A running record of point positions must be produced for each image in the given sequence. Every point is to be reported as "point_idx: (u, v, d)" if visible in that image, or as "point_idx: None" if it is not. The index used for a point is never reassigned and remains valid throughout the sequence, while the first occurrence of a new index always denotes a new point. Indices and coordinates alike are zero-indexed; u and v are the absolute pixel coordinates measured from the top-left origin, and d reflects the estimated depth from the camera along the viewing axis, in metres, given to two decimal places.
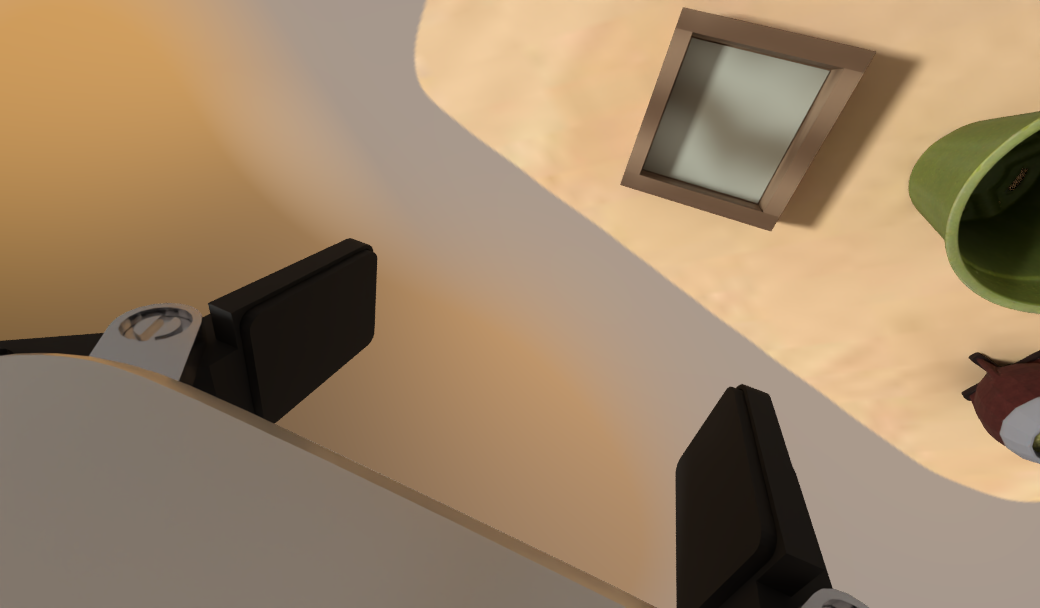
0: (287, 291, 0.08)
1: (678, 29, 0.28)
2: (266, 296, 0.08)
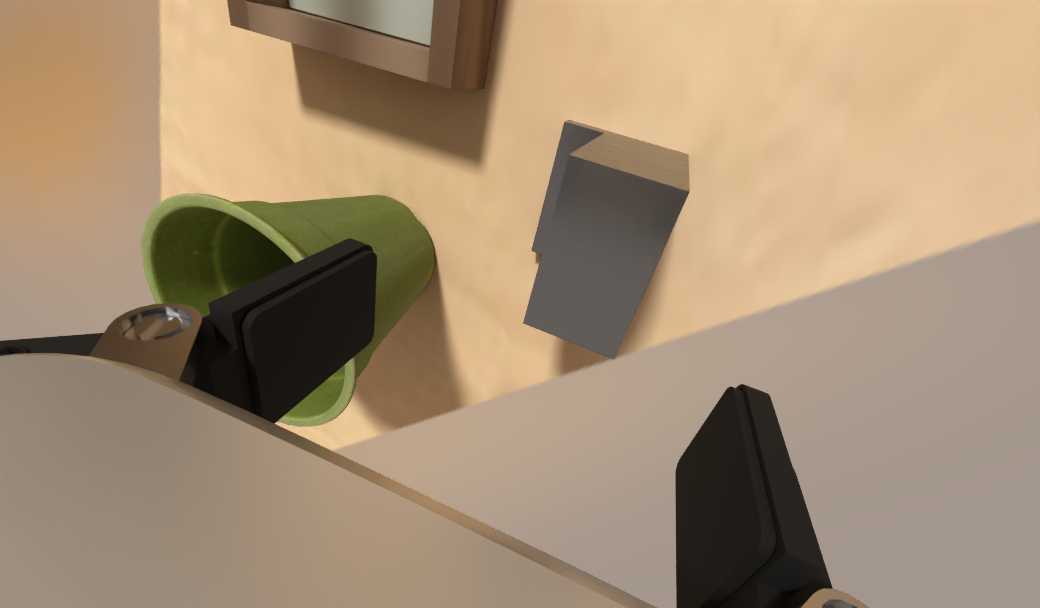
0: (287, 291, 0.08)
1: None
2: (266, 295, 0.08)
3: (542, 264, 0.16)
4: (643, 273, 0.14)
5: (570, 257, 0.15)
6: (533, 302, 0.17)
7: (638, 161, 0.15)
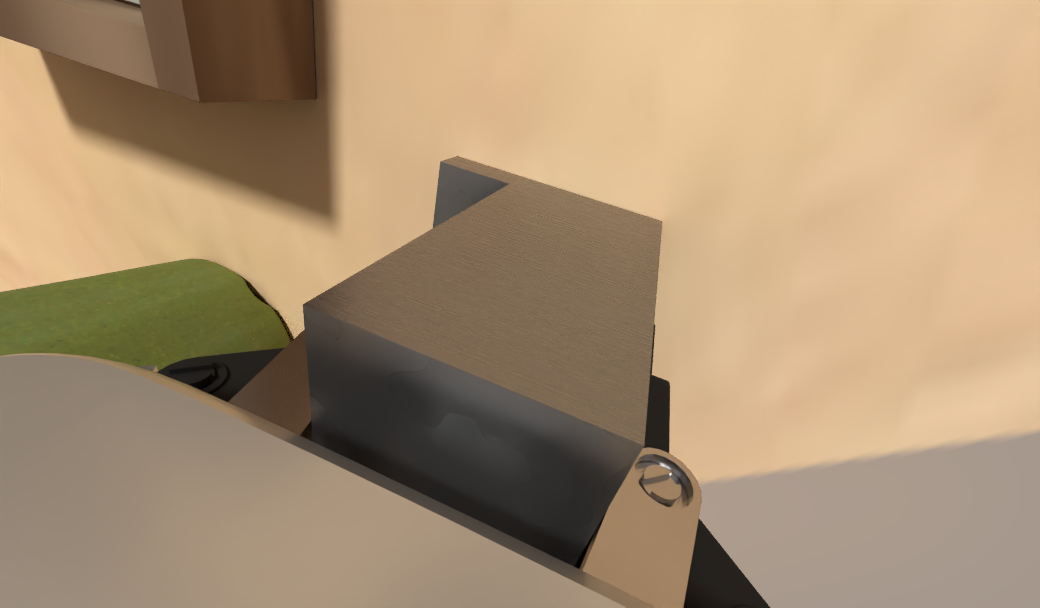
0: None
1: None
2: None
3: None
4: None
5: None
6: None
7: (536, 280, 0.06)
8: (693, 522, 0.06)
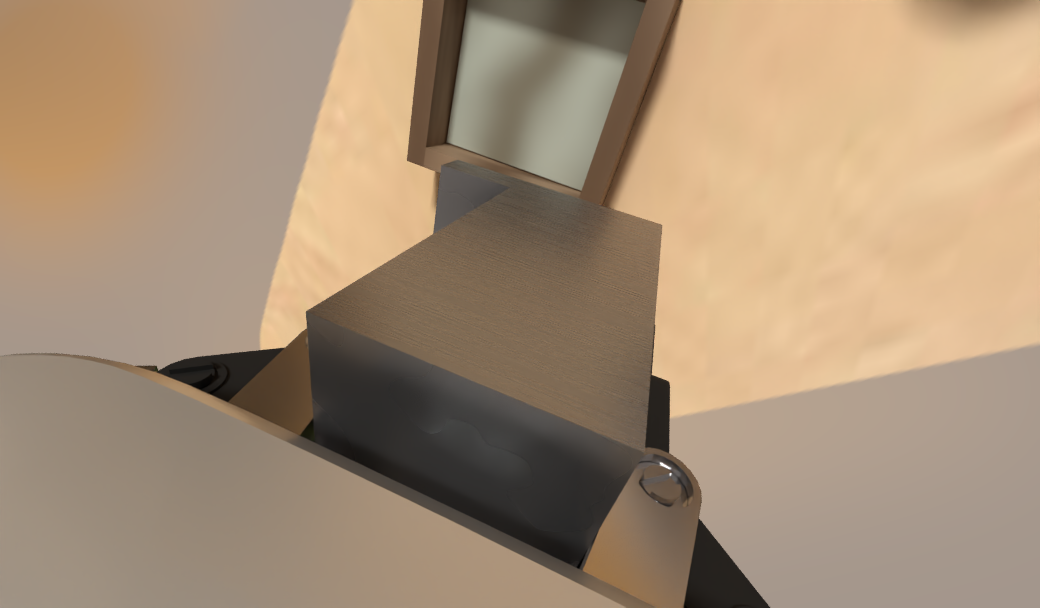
0: None
1: None
2: None
3: None
4: None
5: None
6: None
7: (537, 285, 0.06)
8: (693, 522, 0.06)
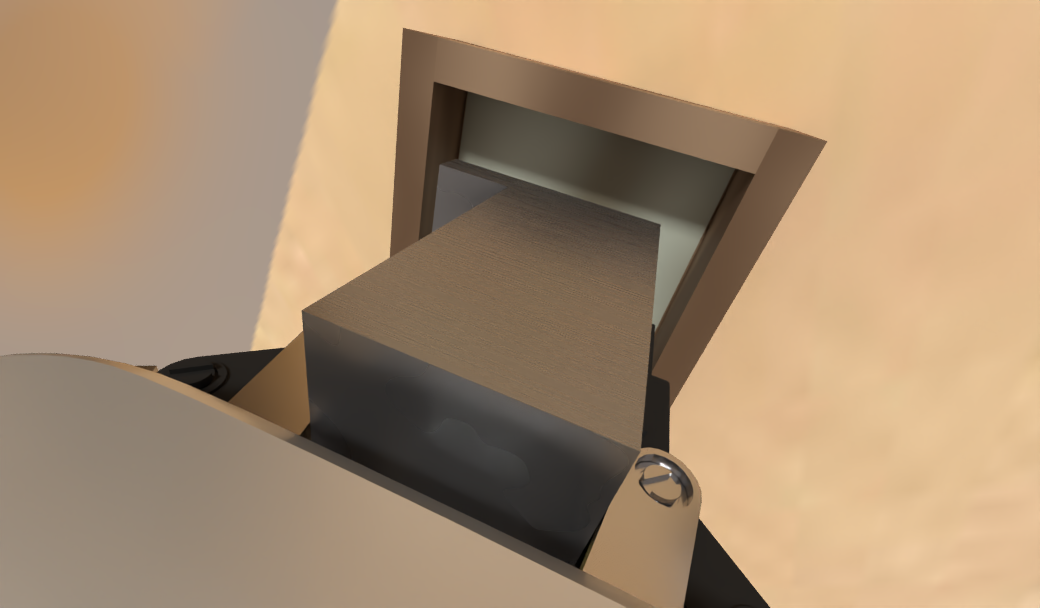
0: None
1: (772, 136, 0.11)
2: None
3: None
4: None
5: None
6: None
7: (534, 285, 0.06)
8: (693, 522, 0.06)
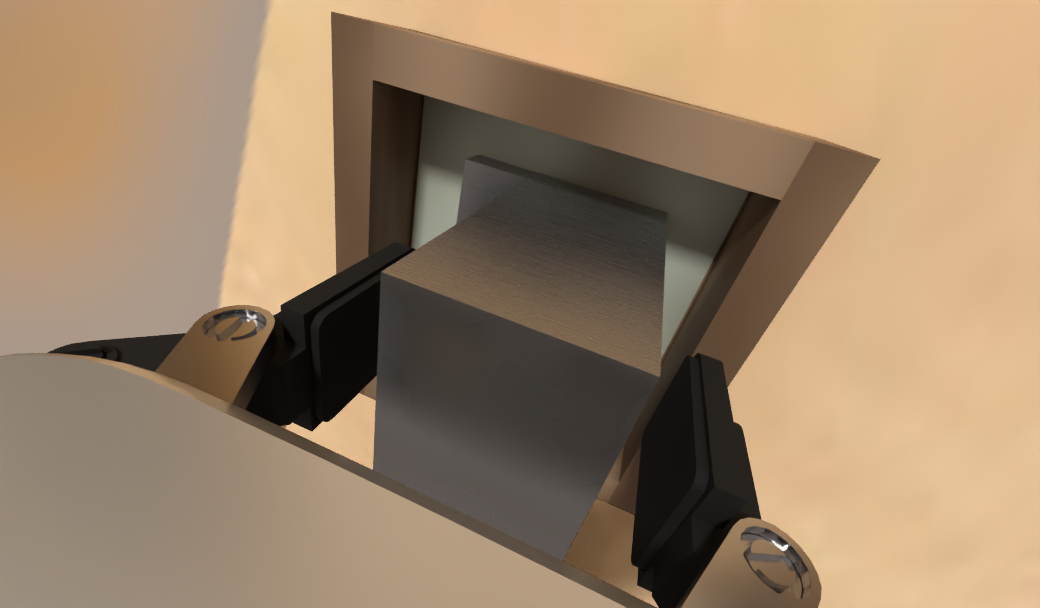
0: (348, 293, 0.08)
1: (806, 152, 0.08)
2: (330, 297, 0.08)
3: (379, 458, 0.08)
4: (569, 508, 0.07)
5: (426, 457, 0.07)
6: None
7: (562, 258, 0.07)
8: None
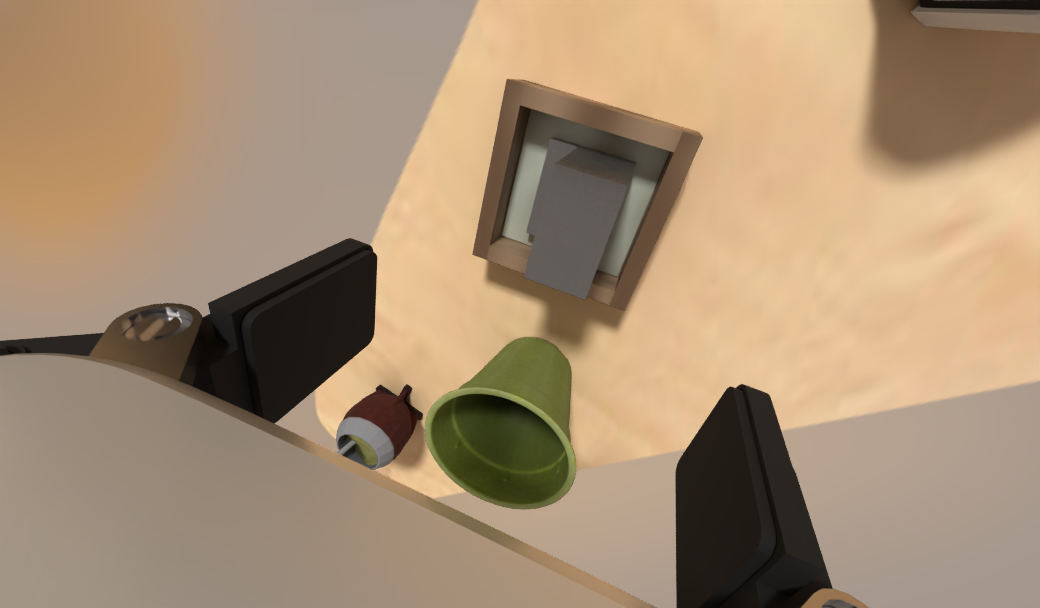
0: (287, 291, 0.08)
1: (680, 135, 0.24)
2: (266, 295, 0.08)
3: (537, 235, 0.24)
4: (602, 239, 0.22)
5: (555, 230, 0.23)
6: (530, 262, 0.24)
7: (599, 167, 0.23)
8: None
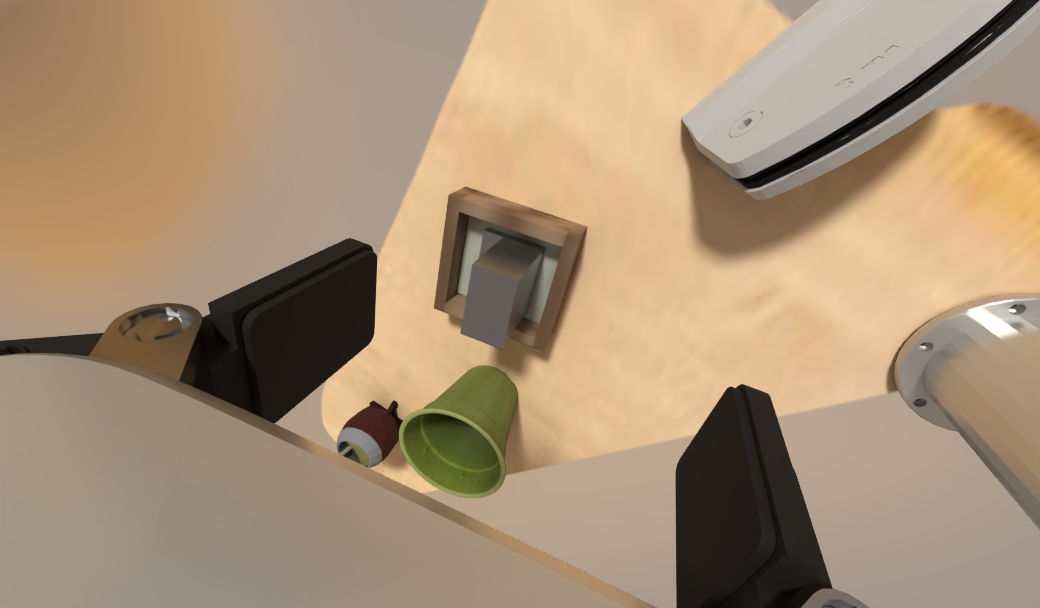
0: (287, 291, 0.08)
1: (565, 236, 0.35)
2: (266, 296, 0.08)
3: (466, 307, 0.35)
4: (507, 311, 0.33)
5: (477, 304, 0.34)
6: (464, 323, 0.35)
7: (507, 261, 0.34)
8: None
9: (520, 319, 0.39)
